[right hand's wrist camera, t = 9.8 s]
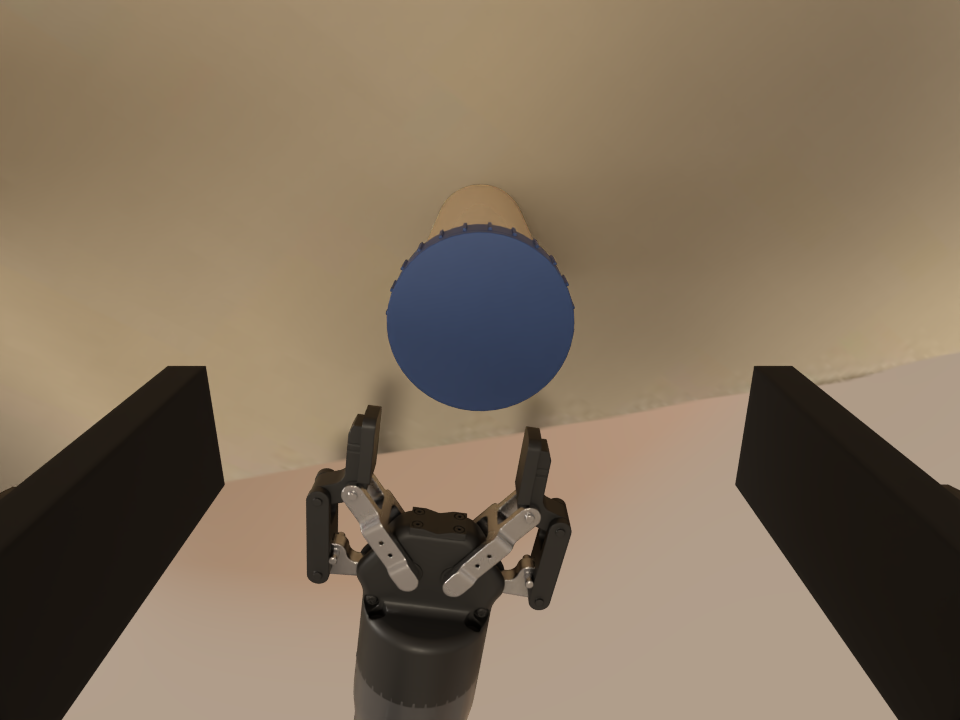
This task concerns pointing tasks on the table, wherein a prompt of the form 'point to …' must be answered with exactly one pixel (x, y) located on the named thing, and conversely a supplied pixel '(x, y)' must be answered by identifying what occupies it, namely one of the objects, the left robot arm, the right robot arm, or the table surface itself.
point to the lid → (480, 317)
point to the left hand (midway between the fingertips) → (453, 422)
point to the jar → (480, 210)
